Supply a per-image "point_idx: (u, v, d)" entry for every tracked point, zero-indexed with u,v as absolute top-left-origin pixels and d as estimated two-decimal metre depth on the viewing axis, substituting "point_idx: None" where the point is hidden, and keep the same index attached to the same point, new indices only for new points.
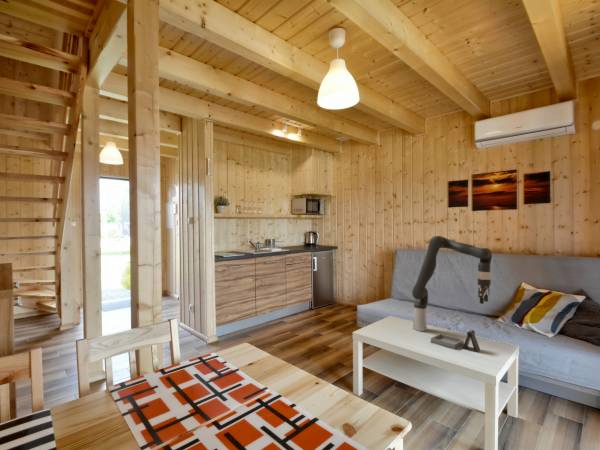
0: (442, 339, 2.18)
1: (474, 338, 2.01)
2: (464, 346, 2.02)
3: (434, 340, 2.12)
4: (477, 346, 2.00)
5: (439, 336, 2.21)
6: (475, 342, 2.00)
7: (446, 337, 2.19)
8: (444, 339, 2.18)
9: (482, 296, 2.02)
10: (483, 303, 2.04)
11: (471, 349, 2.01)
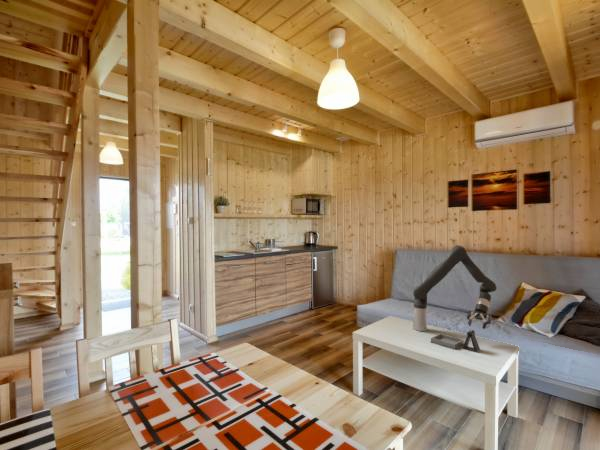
0: (442, 339, 2.18)
1: (474, 338, 2.01)
2: (464, 346, 2.02)
3: (434, 340, 2.12)
4: (477, 346, 2.00)
5: (439, 336, 2.21)
6: (475, 342, 2.00)
7: (446, 337, 2.19)
8: (444, 339, 2.18)
9: (490, 323, 2.06)
10: (483, 328, 2.06)
11: (471, 349, 2.01)
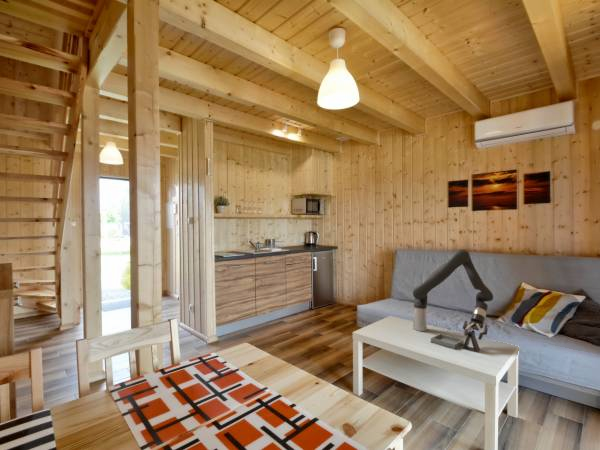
0: (442, 339, 2.18)
1: (474, 338, 2.01)
2: (464, 346, 2.02)
3: (434, 340, 2.12)
4: (477, 346, 2.00)
5: (439, 336, 2.21)
6: (475, 342, 2.00)
7: (446, 337, 2.19)
8: (444, 339, 2.18)
9: (486, 333, 2.01)
10: (480, 339, 2.01)
11: (471, 349, 2.01)
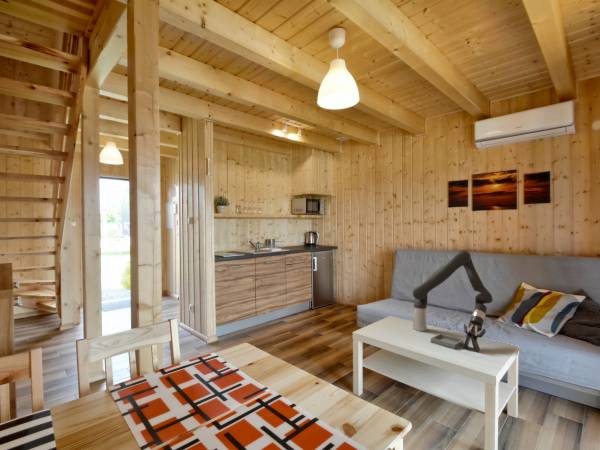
0: (442, 339, 2.18)
1: None
2: (464, 346, 2.02)
3: (434, 340, 2.12)
4: (477, 346, 2.00)
5: (439, 336, 2.21)
6: (475, 342, 2.00)
7: (446, 337, 2.19)
8: (444, 339, 2.18)
9: (481, 336, 2.02)
10: None
11: (471, 349, 2.01)
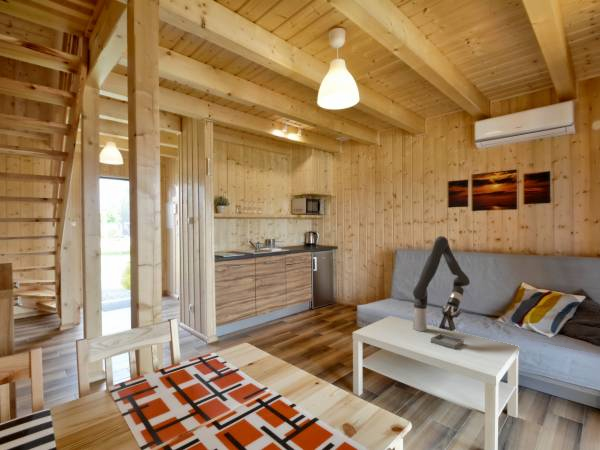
0: (442, 339, 2.18)
1: None
2: (441, 325, 2.13)
3: (434, 340, 2.12)
4: (453, 325, 2.10)
5: (439, 336, 2.21)
6: (451, 321, 2.10)
7: (446, 337, 2.19)
8: (444, 339, 2.18)
9: (456, 316, 2.12)
10: None
11: (447, 328, 2.12)
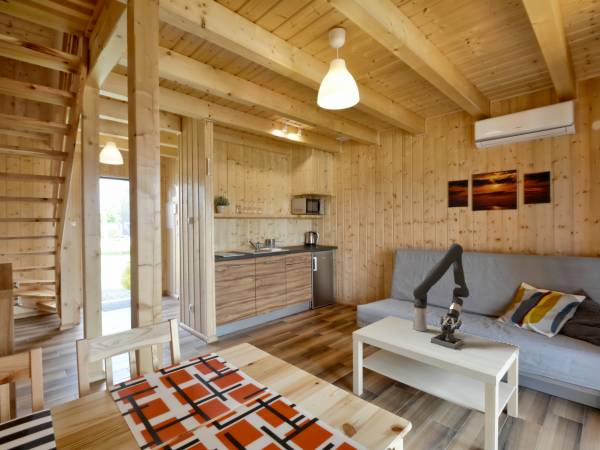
0: None
1: (450, 331, 2.12)
2: (441, 339, 2.13)
3: (434, 340, 2.12)
4: (453, 339, 2.11)
5: (439, 336, 2.21)
6: (451, 335, 2.11)
7: (446, 337, 2.19)
8: None
9: (458, 328, 2.12)
10: (452, 333, 2.11)
11: None
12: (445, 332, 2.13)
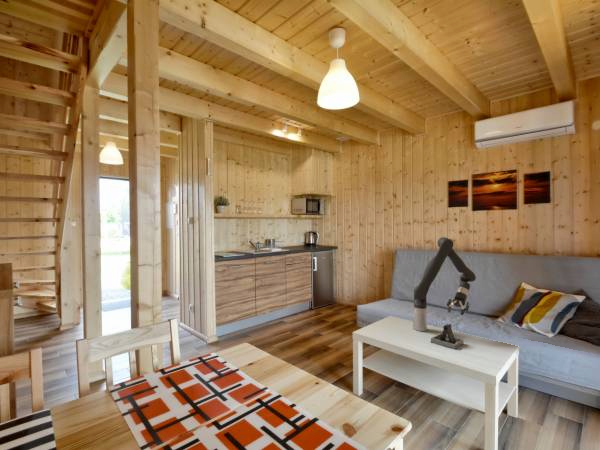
0: None
1: (450, 331, 2.12)
2: (441, 339, 2.13)
3: (434, 340, 2.12)
4: (453, 339, 2.11)
5: (439, 336, 2.21)
6: (451, 335, 2.11)
7: (446, 337, 2.19)
8: None
9: (467, 310, 2.19)
10: None
11: None
12: (445, 332, 2.13)
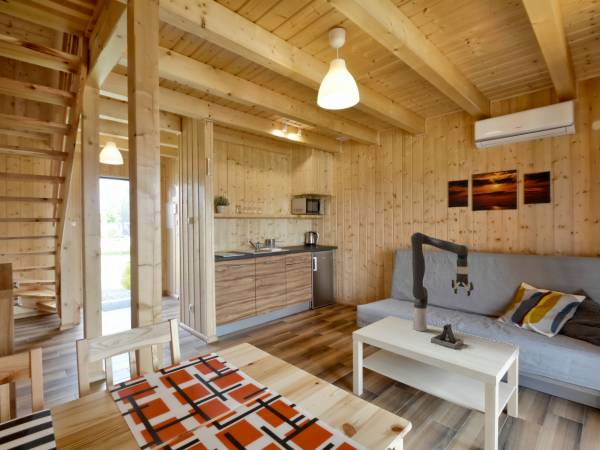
0: None
1: (450, 331, 2.12)
2: (441, 339, 2.13)
3: (434, 340, 2.12)
4: (453, 339, 2.11)
5: (439, 336, 2.21)
6: (451, 335, 2.11)
7: (446, 337, 2.19)
8: None
9: None
10: None
11: None
12: (445, 332, 2.13)
